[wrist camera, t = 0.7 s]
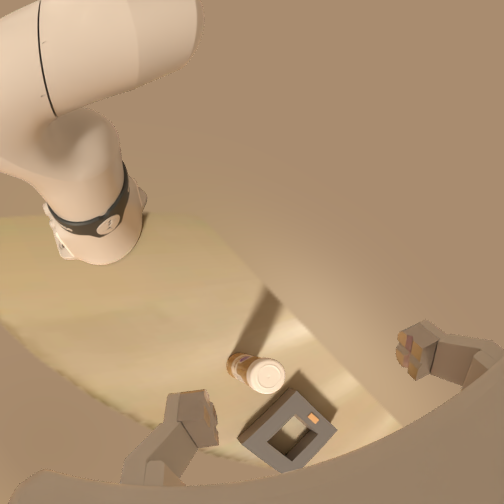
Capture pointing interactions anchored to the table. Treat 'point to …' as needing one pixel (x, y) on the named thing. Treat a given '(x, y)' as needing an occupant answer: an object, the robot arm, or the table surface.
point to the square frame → (276, 419)
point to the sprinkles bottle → (257, 372)
